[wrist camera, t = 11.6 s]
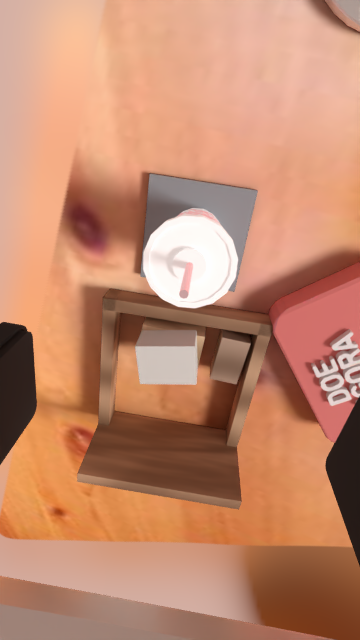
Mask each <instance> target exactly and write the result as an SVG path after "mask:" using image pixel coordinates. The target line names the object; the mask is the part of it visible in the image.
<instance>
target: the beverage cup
mask: <svg viewBox="0 0 360 640" xmlns="http://www.w3.org/2000/svg"><path fill="white" fill-rule="evenodd" d="M237 264H238V257H237V253H236V250H235V246H234V243H233V240H232V238H231V237H230V236H229V234H228V233H227V232H226V231H225V229H224V228H223V227H222V226H221V225H220V223H219V221H218V220H217V219H216V217H215V216H214V215H213V214H212V213H210V212H209V211H207V210H205V209H201V208H191V209H188V210H185V211H183V212H181V213H180V214H179V215H178V216H177V217H175V218H172V219H169V220H166V221H165V222H164V223H163V224H162V225H161V226H160V227H159V228H158V229H157V230H155V231H154V232H153V233H152V234H151V236H150V238H149V240H148V243H147V245H146V247H145V249H144V252H143V271H144V273H145V276H146V278H147V280H148V283H149V285H150V287H151V288H152V289H153V290H154V291H155V292H156V293H157V294H158V295H159V297H160V298H161V299H163V300H165V301H167V302H169V303H171V304H173V305H175V306H177V307H186V308H198V307H202V306H206V305H209V304H213V303H214V302H215V301H216V300H218V299H219V298H220V297H222V296H223V295H224V294H226V293H227V291H228V290H229V288H230V286H231V285H232V283H233V281H234V280H235V278H236V272H237Z"/></svg>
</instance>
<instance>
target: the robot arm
mask: <svg viewBox="0 0 360 640" xmlns="http://www.w3.org/2000/svg"><path fill="white" fill-rule="evenodd" d="M325 1H326V3H327V4H328V6H329V7H330V8H331V10H332V11H333V13H334V14H335V15H336V16H337V17H338V18H340V19H341V20H342V21H343V22H344V23H345V24H346V25H347V26H349V27H351V28H353V29H355V30H357V31H359V32H360V0H325ZM36 407H37V400H36V384H35V368H34V352H33V337H32V334H31V332H28V331H27V329H26V327H25V326H23V325H18V324H12V323H7V322H2V323H1V324H0V464H1V463H2V461H3V460H4V459H5V457H6V456H7V454H8V453H9V451H10V450H11V448H12V447H13V445H14V444H15V443H16V441H17V440H18V438H19V437H20V435H21V434H22V432H23V431H24V429H25V428H26V426H27V425H28V424H29V422H30V421H31V419H32V418H33V416H34V414H35V411H36ZM326 471H327V474H328V477H329V480H330V483H331V486H332V489H333V491H334V494H335V497H336V500H337V503H338V506H339V508H340V511H341V514H342V517H343V520H344V523H345V526H346V528H347V531H348V534H349V537H350V540H351V543H352V545H353V548H354V551H355V554H356V557H357V560H358V563H359V565H360V396H359V398H358V400H357V402H356V403H355V405H354V407H353V409H352V411H351V413H350V415H349V417H348V419H347V421H346V423H345V424H344V426H343V428H342V430H341V432H340V434H339V436H338V438H337V440H336V442H335V443H334V445H333V447H332V449H331V451H330V453H329V455H328V457H327V459H326ZM0 640H334V639H329V638H324V637H319V636H314V635H309V634H304V633H298V632H294V631H289V630H283V629H279V628H273V627H268V626H263V625H257V624H253V623H247V622H242V621H237V620H232V619H227V618H221V617H216V616H210V615H205V614H200V613H195V612H190V611H184V610H179V609H174V608H169V607H163V606H158V605H153V604H148V603H143V602H137V601H132V600H127V599H122V598H116V597H111V596H106V595H100V594H95V593H90V592H84V591H79V590H73V589H68V588H62V587H57V586H51V585H46V584H41V583H35V582H30V581H25V580H19V579H13V578H8V577H2V576H0Z"/></svg>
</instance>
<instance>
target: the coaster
mask: <svg viewBox="0 0 360 640" xmlns="http://www.w3.org/2000/svg"><path fill="white" fill-rule="evenodd" d="M257 192H258V191H257V190H253V189H247V188H240V187H234V186H228V185H221V184H215V183H209V182H202V181H196V180H190V179H184V178H177V177H171V176H165V175H158V174H152V173H150V175H149V186H148V198H147V209H146V220H145V231H144V242H143V252H144V249H145V247H146V245H147V243H148V240H149V238H150V236H151V234H152V233H153V232H154V231H155V230H157V229H158V228H159V227H160V226H161V225H162V224H163V223H164V222H165V221H166V220H169V219H172V218H175V217H177V216H178V215H179V214H180V213H181V212H183V211H185V210H188V209H191V208H201V209H205V210H207V211H209V212H210V213H212V214H213V215H214V216H215V217H216V219H217V220H218V221H219V223H220V225H221V226H222V227H223V228H224V229H225V231H226V232H227V233H228V234H229V236H230V237H231V238H232V240H233V243H234V246H235V250H236V253H237V257H238V264H237V272H236V278H235V280H234V281H233V283H232V285H231V286H230V288H229V290H228V291H233V292H234V291H235V287H236V283H237V278H238V274H239V270H240V265H241V261H242V257H243V252H244V248H245V244H246V239H247V235H248V231H249V226H250V222H251V218H252V213H253V209H254V205H255V200H256V196H257ZM141 277H146V276H145V273H144V271H143V253H142V264H141Z"/></svg>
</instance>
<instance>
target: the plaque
mask: <svg viewBox="0 0 360 640" xmlns="http://www.w3.org/2000/svg"><path fill="white" fill-rule="evenodd" d="M269 317H270V320H271V323H272V325H273V334H274V336H275V338H276V340H277V342H278V344H279V346H280V348H281V350H282V352H283V354H284V356H285V358H286V360H287V362H288V364H289V366H290V367H291V369H292V371H293V373H294V375H295V377H296V379H297V381H298V383H299V385H300V387H301V389H302V391H303V393H304V395H305V397H306V399H307V401H308V403H309V405H310V407H311V409H312V411H313V413H314V415H315V417H316V419H317V420H318V422H319V424H320V426H321V428H322V430H323V432H324V434H325V436H326V437H327V438H328V439H329V440H330V441H332V442H336V440H337V438H338V436H339V434H340V432H341V430H342V428H343V426H344V424H345V423H346V421H347V419H348V417H349V415H350V413H351V411H352V409H353V407H354V405H355V403H356V402H357V400H358V398H359V396H360V262H358V263H356V264H353V265H351V266H349V267H347V268H345V269H343V270H340V271H338V272H336V273H334V274H332V275H330V276H327V277H325V278H323V279H321V280H319V281H317V282H314V283H312V284H310V285H308V286H306V287H304V288H301V289H299V290H297V291H295V292H293V293H291V294H288V295H286V296H284V297H282V298H280V299H279V300H277V301H276V302H275V303H274V304H273V305H272V307H271V308H270V311H269Z"/></svg>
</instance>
